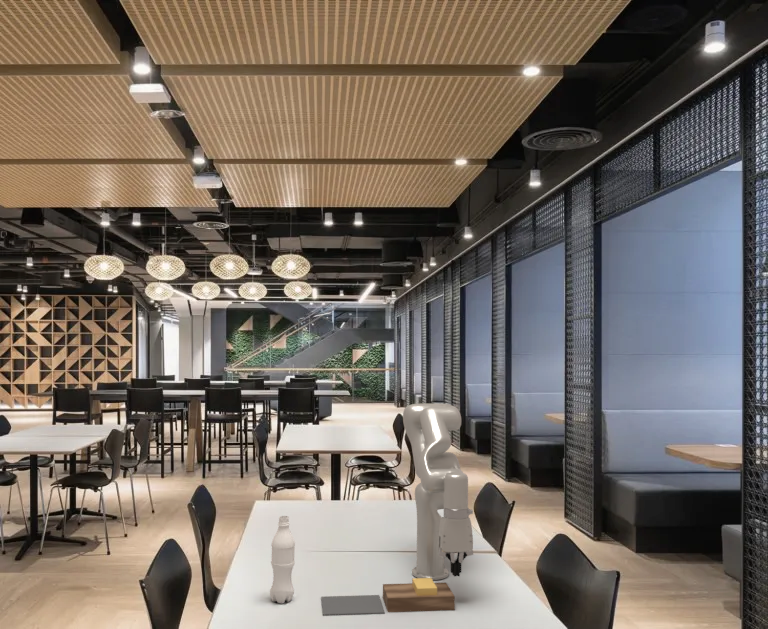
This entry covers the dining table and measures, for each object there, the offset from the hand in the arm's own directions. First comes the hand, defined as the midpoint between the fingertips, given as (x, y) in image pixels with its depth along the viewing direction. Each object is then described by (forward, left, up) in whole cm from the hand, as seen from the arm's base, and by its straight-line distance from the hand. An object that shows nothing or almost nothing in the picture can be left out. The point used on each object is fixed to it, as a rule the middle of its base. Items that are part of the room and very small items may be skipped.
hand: (455, 575), depth 202 cm
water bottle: (-7, -53, -9) cm, 54 cm away
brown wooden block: (-1, -12, -9) cm, 14 cm away
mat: (-1, -32, -9) cm, 33 cm away
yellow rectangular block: (-1, -10, -5) cm, 11 cm away
